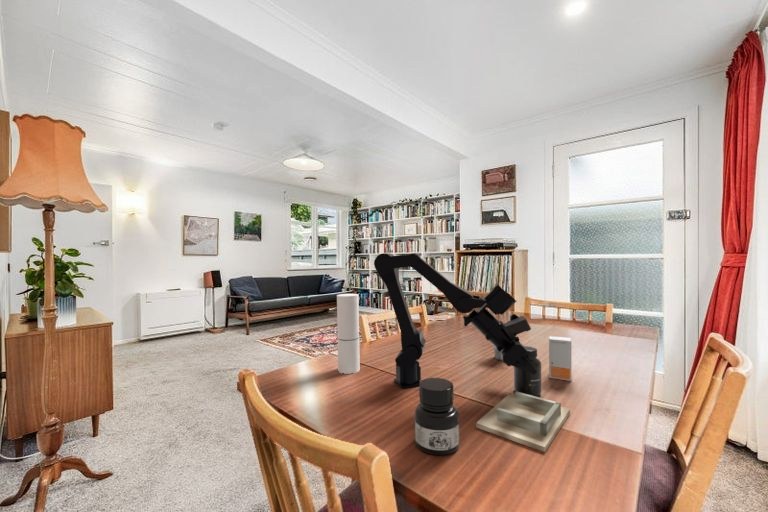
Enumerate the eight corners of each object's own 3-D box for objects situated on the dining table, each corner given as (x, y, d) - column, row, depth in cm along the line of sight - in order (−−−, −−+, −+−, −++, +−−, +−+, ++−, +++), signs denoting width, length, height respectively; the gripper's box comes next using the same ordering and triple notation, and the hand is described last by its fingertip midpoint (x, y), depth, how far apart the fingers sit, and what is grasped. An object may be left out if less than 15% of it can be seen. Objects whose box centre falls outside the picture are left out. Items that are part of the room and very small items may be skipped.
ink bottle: (411, 454, 62) (410, 391, 62) (414, 430, 71) (413, 374, 71) (463, 458, 61) (462, 394, 61) (460, 433, 69) (459, 376, 69)
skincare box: (549, 378, 98) (548, 338, 98) (549, 373, 102) (548, 335, 102) (572, 381, 96) (571, 341, 95) (571, 376, 99) (571, 337, 99)
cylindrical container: (361, 366, 112) (360, 293, 112) (357, 374, 105) (356, 296, 104) (340, 366, 112) (339, 293, 112) (335, 373, 105) (334, 296, 105)
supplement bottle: (538, 400, 84) (537, 353, 84) (511, 393, 88) (510, 349, 88) (544, 391, 89) (543, 347, 89) (518, 385, 94) (517, 343, 94)
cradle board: (476, 427, 71) (475, 411, 71) (510, 396, 86) (510, 383, 86) (544, 452, 62) (544, 434, 62) (570, 413, 77) (569, 398, 77)
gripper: (516, 312, 81) (566, 359, 78) (506, 301, 99) (546, 339, 96) (483, 342, 82) (531, 389, 80) (479, 326, 101) (518, 364, 98)
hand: (532, 368), depth 89 cm, fingers closed on supplement bottle, 7 cm apart
